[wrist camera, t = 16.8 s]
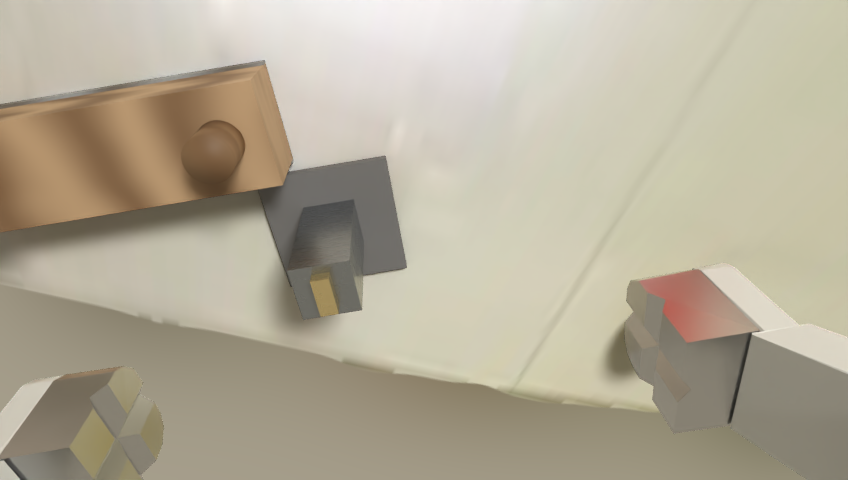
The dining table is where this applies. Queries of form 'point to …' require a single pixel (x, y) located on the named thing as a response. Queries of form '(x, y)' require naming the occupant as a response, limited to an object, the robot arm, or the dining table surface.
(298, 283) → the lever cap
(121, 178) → the plane body
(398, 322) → the dining table surface
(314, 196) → the pad
